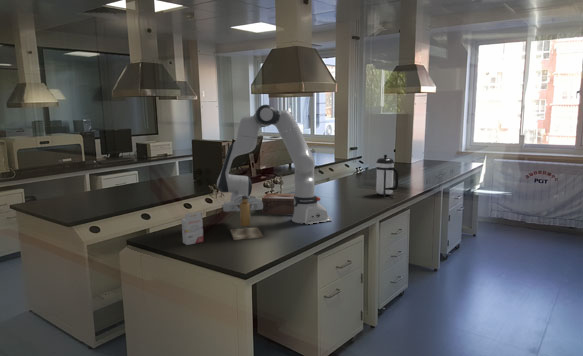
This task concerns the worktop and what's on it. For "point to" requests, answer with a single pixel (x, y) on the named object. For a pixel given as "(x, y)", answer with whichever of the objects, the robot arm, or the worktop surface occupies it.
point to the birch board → (246, 233)
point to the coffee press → (385, 176)
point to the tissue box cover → (278, 204)
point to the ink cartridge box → (192, 228)
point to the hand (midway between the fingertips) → (245, 209)
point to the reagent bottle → (245, 212)
